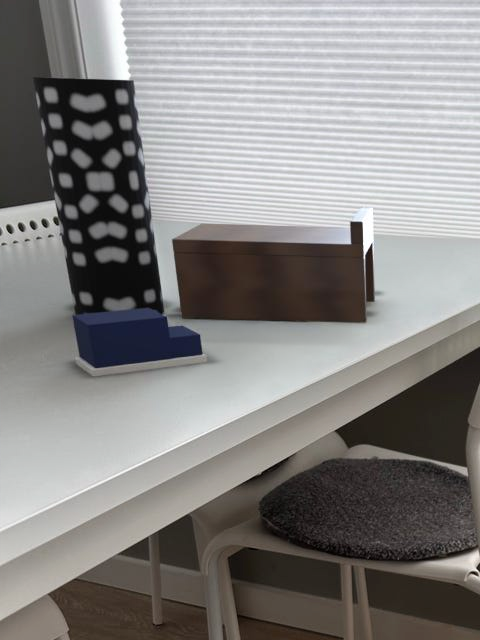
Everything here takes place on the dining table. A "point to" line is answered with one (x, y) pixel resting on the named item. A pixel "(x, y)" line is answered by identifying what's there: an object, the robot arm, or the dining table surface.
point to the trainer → (133, 342)
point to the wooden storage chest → (277, 271)
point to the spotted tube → (100, 192)
